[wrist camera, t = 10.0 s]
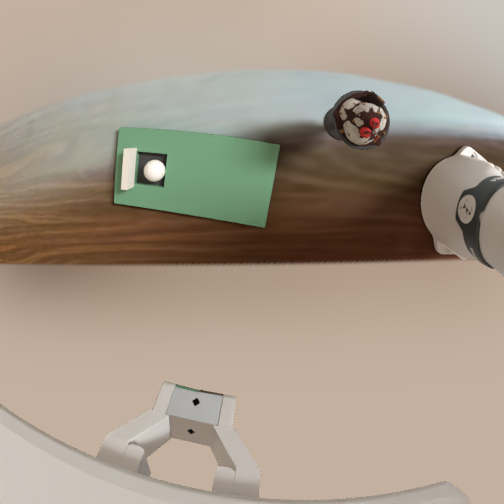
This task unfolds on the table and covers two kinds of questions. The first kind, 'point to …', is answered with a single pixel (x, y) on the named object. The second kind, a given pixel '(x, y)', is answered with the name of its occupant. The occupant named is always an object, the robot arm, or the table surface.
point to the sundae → (359, 120)
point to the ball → (154, 170)
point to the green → (197, 174)
